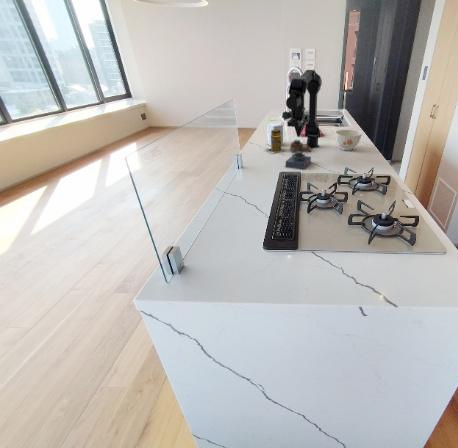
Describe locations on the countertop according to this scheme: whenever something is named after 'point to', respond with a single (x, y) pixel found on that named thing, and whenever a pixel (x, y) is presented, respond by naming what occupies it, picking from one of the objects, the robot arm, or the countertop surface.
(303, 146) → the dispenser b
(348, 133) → the bowl
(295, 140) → the nozzle
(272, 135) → the condiment
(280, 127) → the white packaging box
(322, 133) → the dish towel
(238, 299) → the countertop surface
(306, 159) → the dispenser
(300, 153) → the nozzle
